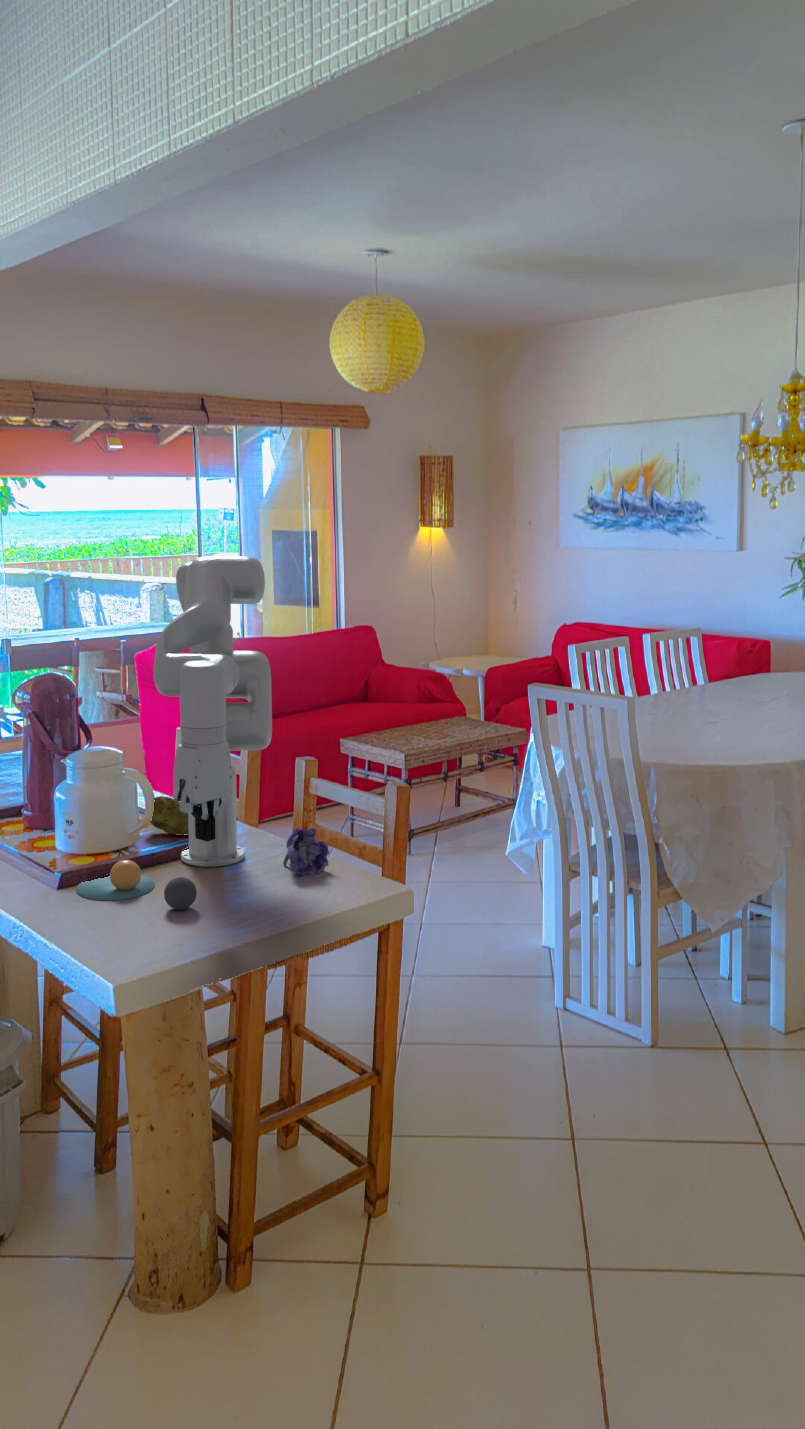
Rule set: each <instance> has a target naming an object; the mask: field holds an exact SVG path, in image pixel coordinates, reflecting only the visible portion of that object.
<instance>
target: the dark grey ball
mask: <svg viewBox="0 0 805 1429" xmlns="http://www.w3.org/2000/svg"><path fill="white" fill-rule="evenodd" d="M197 893H198V892H197V887H196V885H195V884H194V882H193V881H192V880H191V879H189V878H187V877H183V876H178V877H175V878H172V879H171V880H170V881H169V882H168V883H167V884H166V885H165V888H164V892H163V897H164V900H165V902H166V904H167V905H168V906H169V907H171V908H172V909H174V910H177V911H178V910H179V911H180V910H186V909H188V908H190V907H191V906H192V905H193V904H194V902H195V901H196V899H197Z"/></svg>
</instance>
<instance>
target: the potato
mask: <svg viewBox="0 0 805 1429" xmlns="http://www.w3.org/2000/svg"><path fill="white" fill-rule="evenodd" d="M153 799H154V800H155V802H154V812H153V816H152V821H150V822H149V823H150V824H151V826H153V827H154V828H156V829H158V830H162V831H163V832H165V833H166V834H168V833H169V835H171V834H183V835H184V834H188V813H185V812H181V811H180V810H179V808H180V801H176V800H174V797H170V796H163V795H161V796H155V797H153Z"/></svg>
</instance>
